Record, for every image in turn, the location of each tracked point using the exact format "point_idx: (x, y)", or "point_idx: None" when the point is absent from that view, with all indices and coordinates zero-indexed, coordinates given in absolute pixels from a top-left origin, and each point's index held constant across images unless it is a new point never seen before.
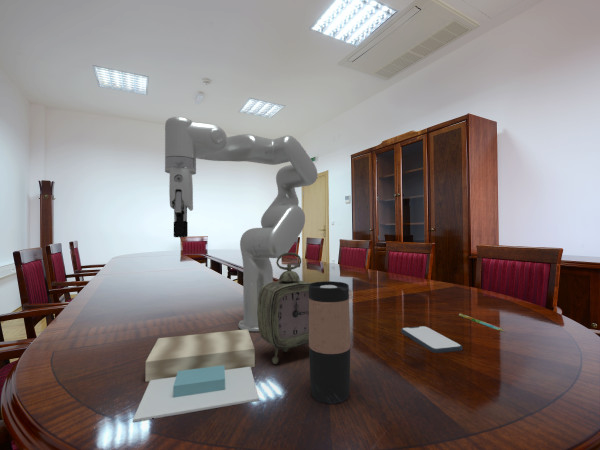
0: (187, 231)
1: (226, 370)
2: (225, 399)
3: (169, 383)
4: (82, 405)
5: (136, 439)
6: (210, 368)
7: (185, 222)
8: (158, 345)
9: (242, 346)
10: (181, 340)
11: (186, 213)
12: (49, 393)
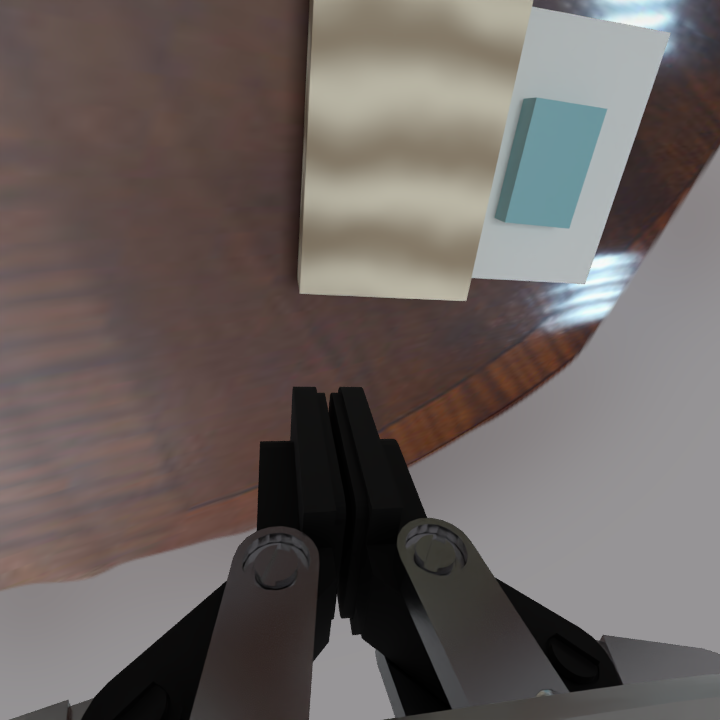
0: (305, 417)
1: None
2: (627, 115)
3: (494, 235)
4: (484, 369)
5: (627, 269)
6: (534, 139)
7: (393, 515)
8: (366, 285)
9: (500, 12)
10: (349, 222)
11: (310, 685)
12: (413, 431)
